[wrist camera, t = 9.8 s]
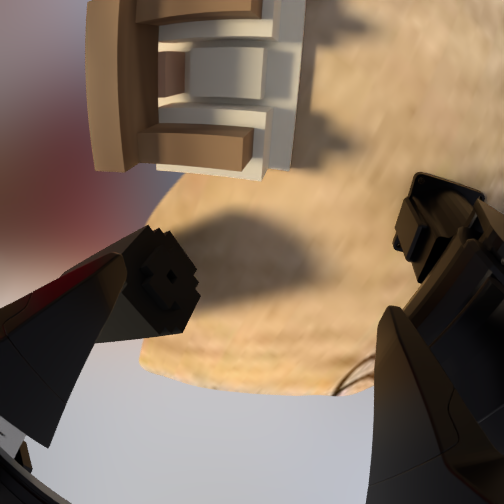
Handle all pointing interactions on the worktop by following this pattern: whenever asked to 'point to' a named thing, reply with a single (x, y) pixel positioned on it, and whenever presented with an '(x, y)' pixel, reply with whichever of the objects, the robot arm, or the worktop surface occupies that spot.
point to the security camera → (150, 287)
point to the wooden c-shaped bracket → (151, 88)
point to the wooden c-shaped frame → (236, 81)
